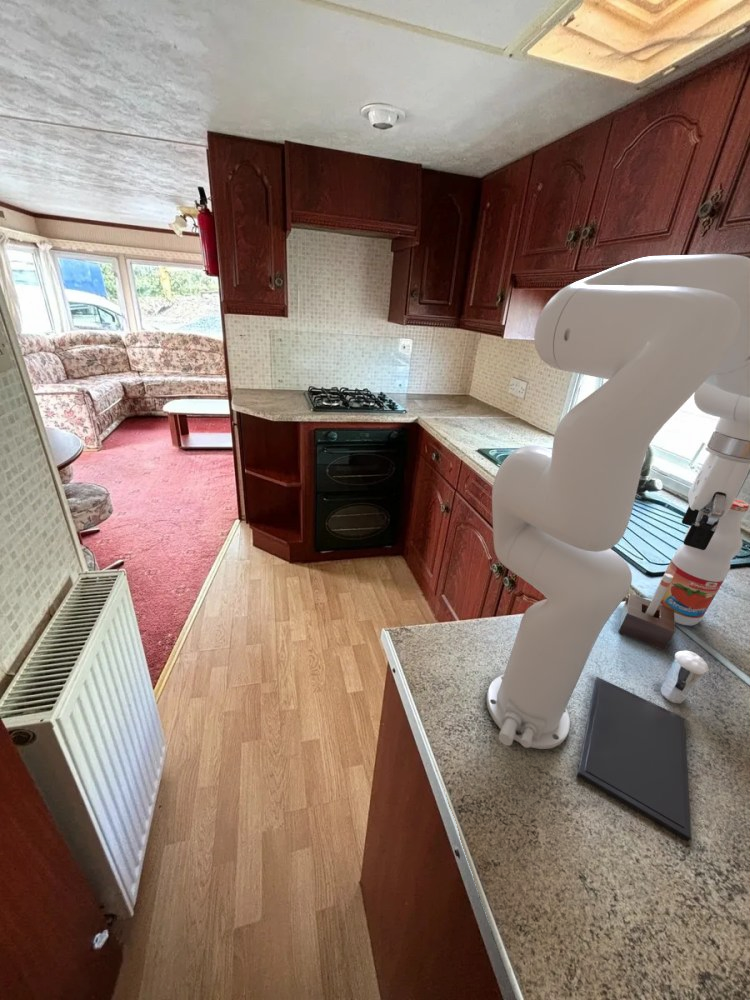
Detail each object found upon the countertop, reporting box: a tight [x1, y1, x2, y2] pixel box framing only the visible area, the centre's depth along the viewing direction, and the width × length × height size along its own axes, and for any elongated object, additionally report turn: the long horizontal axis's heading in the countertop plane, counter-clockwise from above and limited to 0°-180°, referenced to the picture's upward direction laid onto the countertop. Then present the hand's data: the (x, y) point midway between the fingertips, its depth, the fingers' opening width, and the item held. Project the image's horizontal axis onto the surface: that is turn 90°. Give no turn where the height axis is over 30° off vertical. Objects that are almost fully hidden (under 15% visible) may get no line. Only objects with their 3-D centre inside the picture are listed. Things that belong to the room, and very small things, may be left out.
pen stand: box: [618, 593, 676, 652], centre depth 83 cm, size 8×8×5 cm
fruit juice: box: [651, 497, 750, 626], centre depth 85 cm, size 9×9×28 cm
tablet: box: [576, 676, 692, 843], centre depth 60 cm, size 20×13×1 cm, turn 147°
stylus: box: [645, 573, 673, 616], centre depth 81 cm, size 1×1×14 cm
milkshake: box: [660, 649, 717, 704], centre depth 67 cm, size 4×5×10 cm
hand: (692, 535), depth 74 cm, fingers open, 9 cm apart
